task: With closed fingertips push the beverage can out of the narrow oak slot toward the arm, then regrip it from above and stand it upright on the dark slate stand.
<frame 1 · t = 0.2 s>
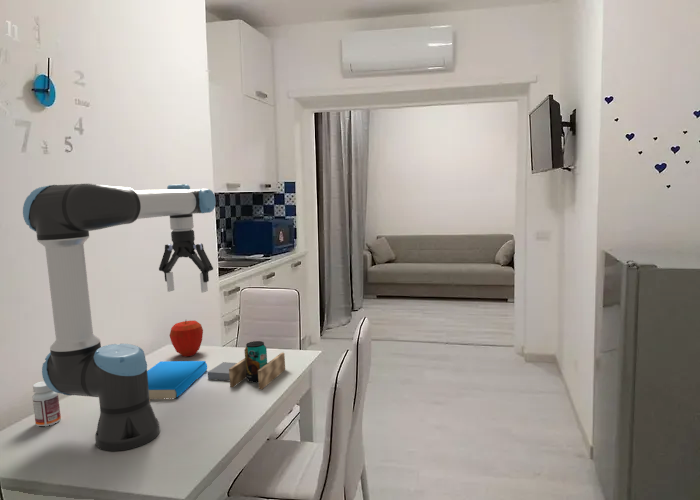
hand: (187, 291, 183), 28 cm above the table, fingers open, 13 cm apart
pill bottle: (48, 423, 147), on the table
book: (168, 385, 173), on the table
stand: (229, 374, 179), on the table
beverage can: (257, 379, 174), on the table
apple: (188, 355, 203), on the table
slot rack: (258, 378, 174), on the table
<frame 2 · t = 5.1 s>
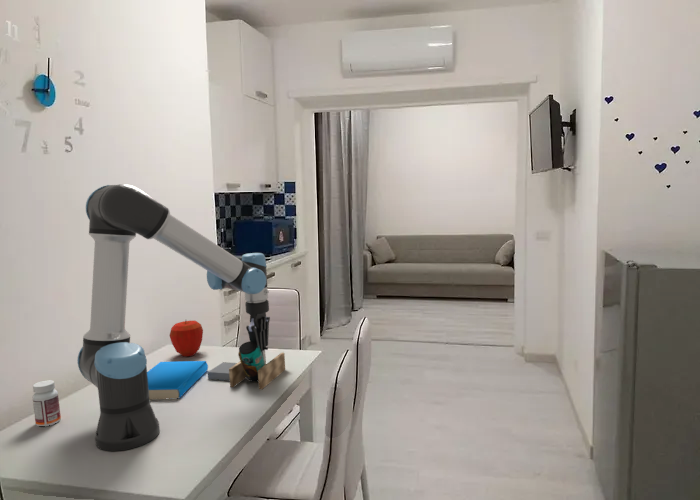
hand: (261, 369, 177), 2 cm above the table, fingers closed
beverage can: (257, 375, 173), point 1 cm above the table, touching gripper, hand
everything else where it was.
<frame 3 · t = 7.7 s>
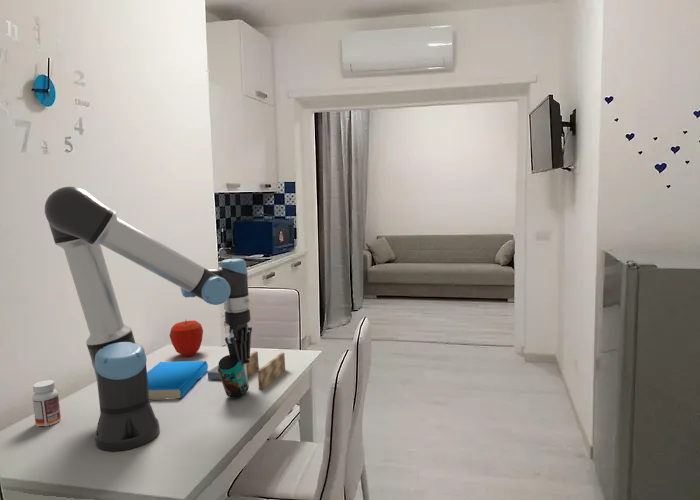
hand: (242, 384, 164), 2 cm above the table, fingers closed
beverage can: (238, 391, 160), point 1 cm above the table, touching gripper
everything else where it was.
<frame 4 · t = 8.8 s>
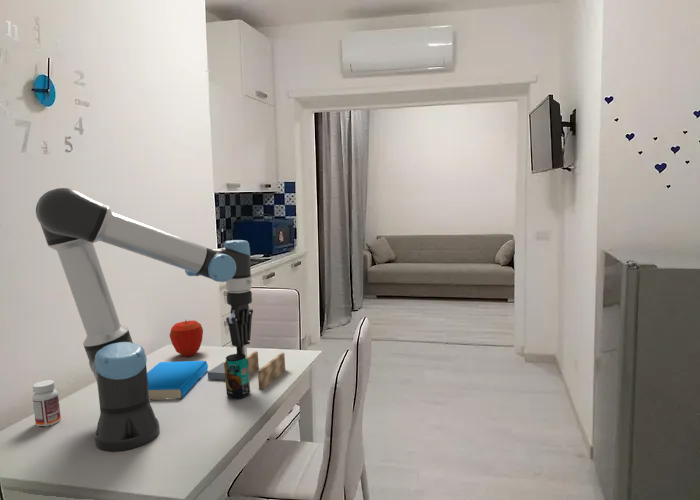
hand: (242, 365, 165), 7 cm above the table, fingers closed
beverage can: (238, 395, 161), on the table
everything else where it was.
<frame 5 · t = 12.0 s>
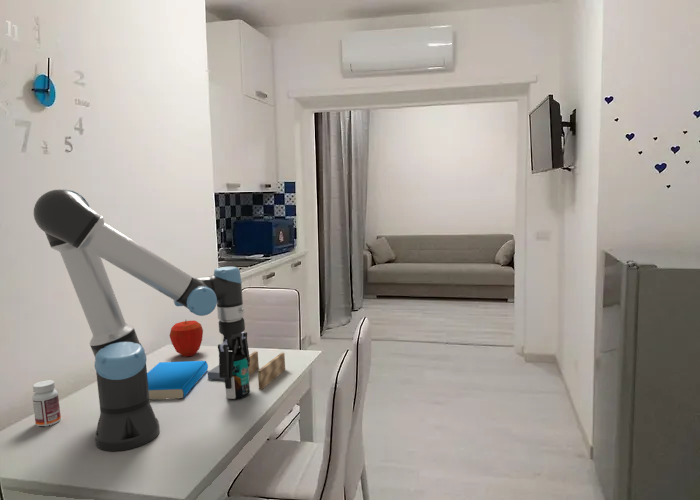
hand: (237, 392, 160), 1 cm above the table, fingers closed on beverage can, 7 cm apart
beverage can: (238, 395, 161), on the table, touching gripper
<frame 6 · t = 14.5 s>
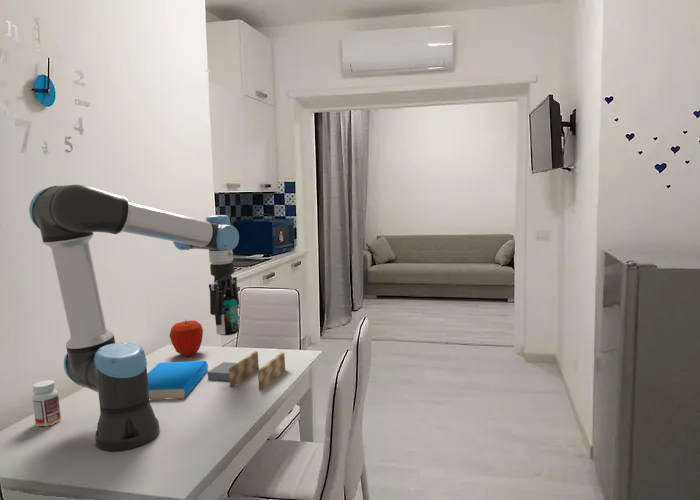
hand: (227, 330, 176), 15 cm above the table, fingers closed on beverage can, 7 cm apart
beverage can: (228, 333, 176), point 14 cm above the table, touching gripper
when the fingers open (4 cm above the table, at t = 16.9 s): beverage can drops 1 cm, resting on stand.
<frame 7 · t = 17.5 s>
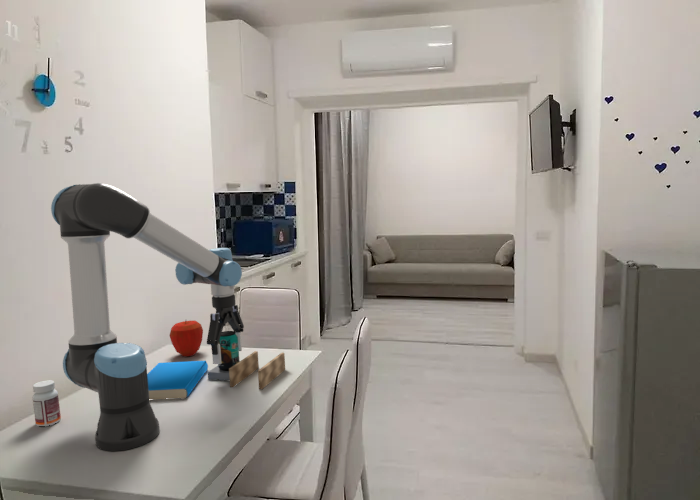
hand: (227, 357, 178), 6 cm above the table, fingers open, 13 cm apart
beverage can: (229, 368, 178), point 2 cm above the table, touching stand
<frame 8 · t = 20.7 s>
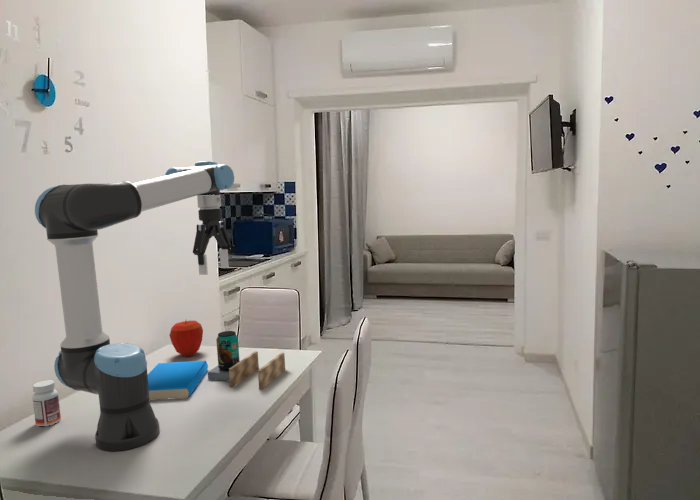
hand: (214, 271, 180), 35 cm above the table, fingers open, 13 cm apart
at the end: beverage can 0.4 cm from the stand (horizontally); beverage can tilted 0°; beverage can touching stand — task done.
